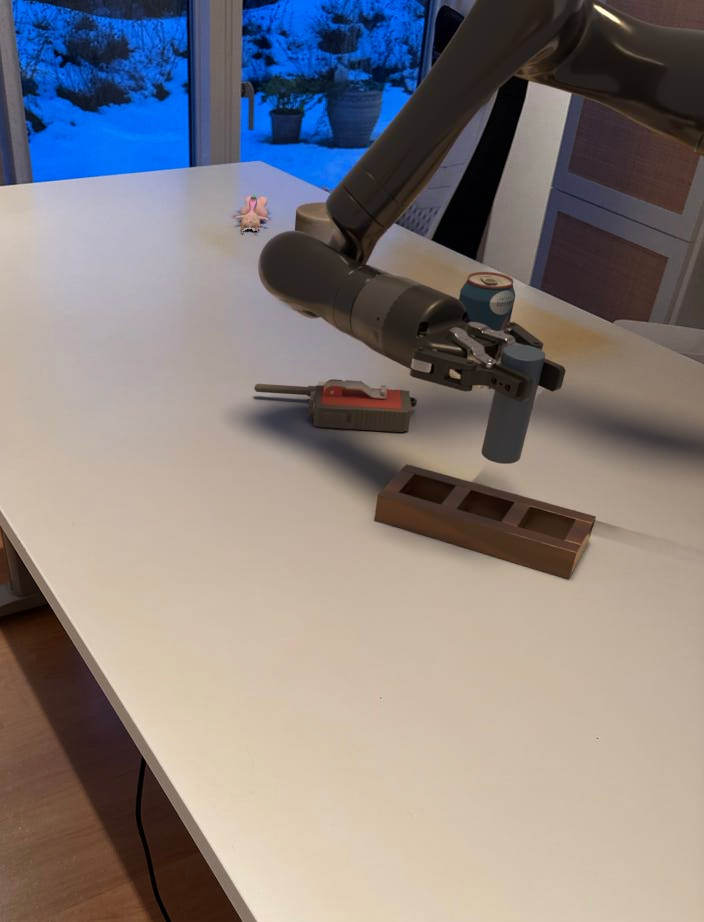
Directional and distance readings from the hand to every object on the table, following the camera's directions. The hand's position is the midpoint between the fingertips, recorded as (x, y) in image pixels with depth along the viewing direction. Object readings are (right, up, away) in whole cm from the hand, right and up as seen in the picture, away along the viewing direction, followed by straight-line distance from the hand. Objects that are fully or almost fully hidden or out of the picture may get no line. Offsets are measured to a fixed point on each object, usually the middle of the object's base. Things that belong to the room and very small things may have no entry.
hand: (544, 385), depth 83 cm
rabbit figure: (-22, +57, +98) cm, 115 cm away
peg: (-2, -5, +7) cm, 8 cm away
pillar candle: (-13, +29, +64) cm, 72 cm away
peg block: (-2, -11, +13) cm, 18 cm away
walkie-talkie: (-15, +5, +34) cm, 37 cm away
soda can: (+6, +14, +46) cm, 48 cm away
